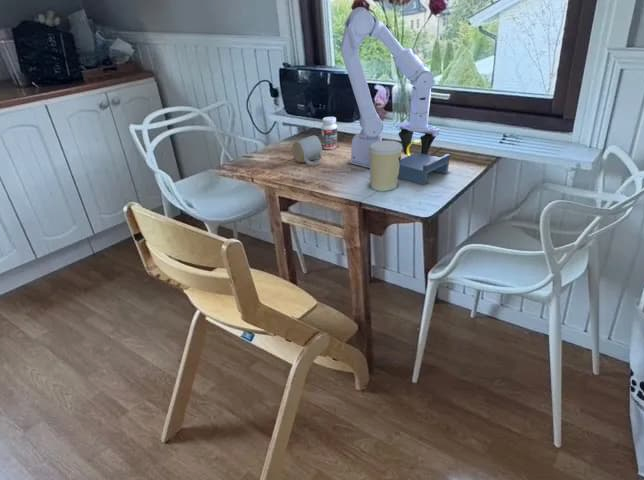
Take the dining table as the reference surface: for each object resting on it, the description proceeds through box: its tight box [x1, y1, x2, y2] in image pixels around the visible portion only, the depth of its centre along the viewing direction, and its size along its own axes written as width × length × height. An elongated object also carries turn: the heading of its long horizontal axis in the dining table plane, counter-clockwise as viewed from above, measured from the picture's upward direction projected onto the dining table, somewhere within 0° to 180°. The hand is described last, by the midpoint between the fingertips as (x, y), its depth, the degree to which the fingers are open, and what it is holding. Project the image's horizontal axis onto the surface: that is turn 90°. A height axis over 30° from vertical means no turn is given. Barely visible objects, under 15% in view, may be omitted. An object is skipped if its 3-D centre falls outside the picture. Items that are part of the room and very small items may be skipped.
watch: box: [406, 139, 421, 157], centre depth 169 cm, size 6×3×6 cm, turn 49°
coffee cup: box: [369, 140, 403, 192], centre depth 152 cm, size 9×9×12 cm
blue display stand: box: [398, 152, 451, 185], centre depth 158 cm, size 12×12×6 cm
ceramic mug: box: [291, 134, 323, 167], centre depth 176 cm, size 11×8×8 cm
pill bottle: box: [320, 116, 338, 150], centre depth 185 cm, size 6×6×10 cm
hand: (415, 155), depth 169 cm, fingers closed on watch, 6 cm apart
